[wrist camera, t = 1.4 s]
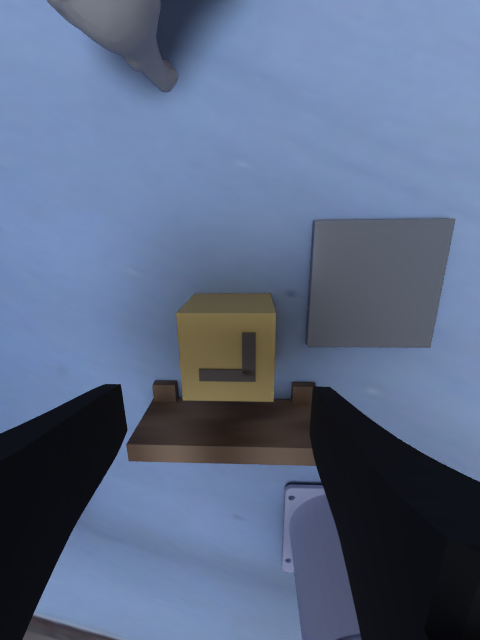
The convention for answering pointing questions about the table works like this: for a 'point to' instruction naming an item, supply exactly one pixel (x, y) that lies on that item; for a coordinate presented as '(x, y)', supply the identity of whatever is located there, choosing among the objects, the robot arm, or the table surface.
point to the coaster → (376, 281)
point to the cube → (227, 347)
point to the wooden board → (224, 429)
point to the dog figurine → (123, 32)
